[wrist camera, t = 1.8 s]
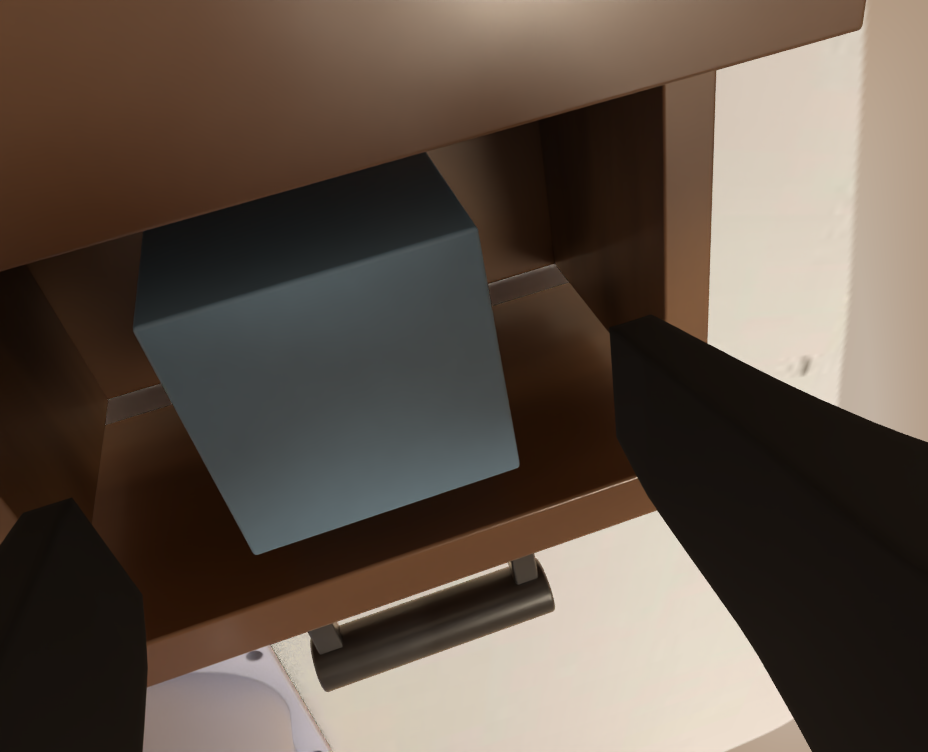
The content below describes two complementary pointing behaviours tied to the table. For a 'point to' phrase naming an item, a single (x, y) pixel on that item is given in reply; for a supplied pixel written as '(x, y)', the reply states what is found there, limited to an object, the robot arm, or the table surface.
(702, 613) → the table surface
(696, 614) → the table surface
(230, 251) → the box
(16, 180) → the cabinet
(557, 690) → the table surface
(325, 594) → the drawer
